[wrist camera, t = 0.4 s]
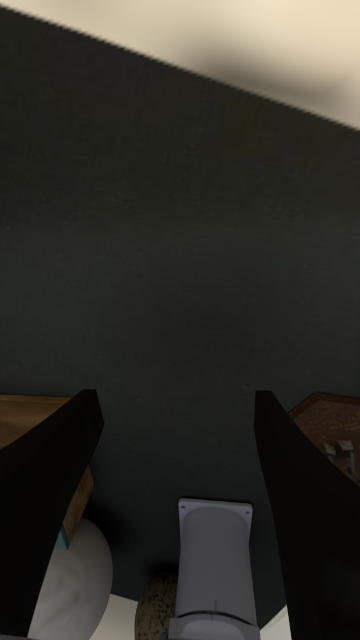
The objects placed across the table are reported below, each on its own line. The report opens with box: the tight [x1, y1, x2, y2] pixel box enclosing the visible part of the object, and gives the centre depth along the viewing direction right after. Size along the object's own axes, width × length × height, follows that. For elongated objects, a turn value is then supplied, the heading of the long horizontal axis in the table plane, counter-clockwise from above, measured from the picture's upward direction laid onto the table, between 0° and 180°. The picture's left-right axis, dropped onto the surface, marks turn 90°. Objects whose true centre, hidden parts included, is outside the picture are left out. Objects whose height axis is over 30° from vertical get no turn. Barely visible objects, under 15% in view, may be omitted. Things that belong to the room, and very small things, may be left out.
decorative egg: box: [135, 572, 178, 640], centre depth 33 cm, size 7×7×10 cm
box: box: [0, 394, 94, 542], centre depth 27 cm, size 13×13×6 cm
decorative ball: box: [27, 517, 113, 640], centre depth 29 cm, size 12×12×12 cm
